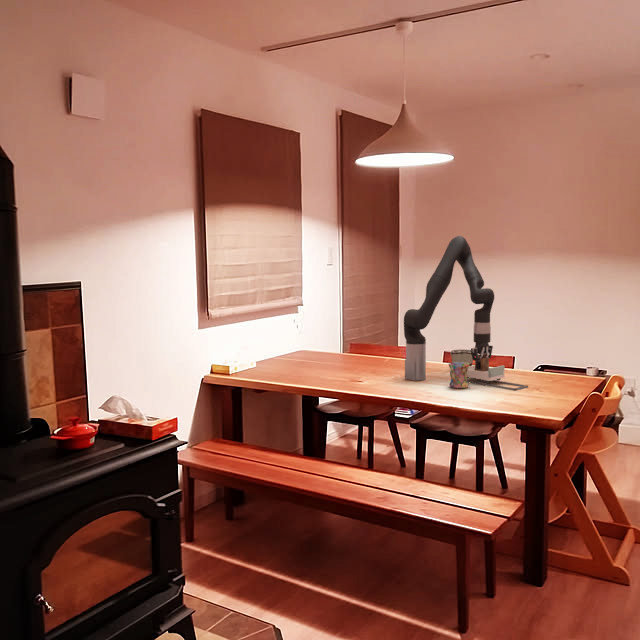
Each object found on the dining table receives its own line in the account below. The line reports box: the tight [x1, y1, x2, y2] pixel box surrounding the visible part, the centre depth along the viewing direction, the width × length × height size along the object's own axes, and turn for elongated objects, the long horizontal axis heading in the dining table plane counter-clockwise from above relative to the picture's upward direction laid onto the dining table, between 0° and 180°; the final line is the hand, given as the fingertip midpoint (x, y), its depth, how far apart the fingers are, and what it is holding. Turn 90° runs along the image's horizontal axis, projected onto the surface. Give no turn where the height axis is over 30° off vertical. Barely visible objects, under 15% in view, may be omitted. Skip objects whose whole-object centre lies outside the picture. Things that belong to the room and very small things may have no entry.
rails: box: [467, 377, 529, 391], centre depth 293 cm, size 10×32×1 cm, turn 40°
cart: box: [467, 364, 506, 384], centre depth 296 cm, size 11×17×7 cm, turn 40°
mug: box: [447, 361, 470, 389], centre depth 285 cm, size 12×9×11 cm
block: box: [474, 356, 490, 372], centre depth 296 cm, size 4×4×6 cm
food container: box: [449, 349, 474, 366], centre depth 328 cm, size 12×6×10 cm, turn 84°
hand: (481, 368), depth 296 cm, fingers closed on block, 4 cm apart
